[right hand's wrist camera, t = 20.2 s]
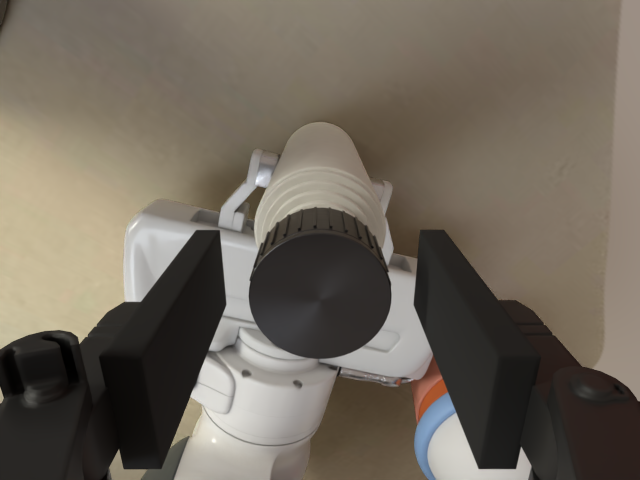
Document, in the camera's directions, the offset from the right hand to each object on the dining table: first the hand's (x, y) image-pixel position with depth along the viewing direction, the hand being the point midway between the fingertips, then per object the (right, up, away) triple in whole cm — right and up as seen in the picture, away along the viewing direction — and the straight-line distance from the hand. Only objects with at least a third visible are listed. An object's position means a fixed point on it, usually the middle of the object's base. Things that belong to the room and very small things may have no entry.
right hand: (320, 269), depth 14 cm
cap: (0, -1, -2) cm, 2 cm away
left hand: (0, +5, +11) cm, 12 cm away
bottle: (0, +7, +17) cm, 18 cm away
